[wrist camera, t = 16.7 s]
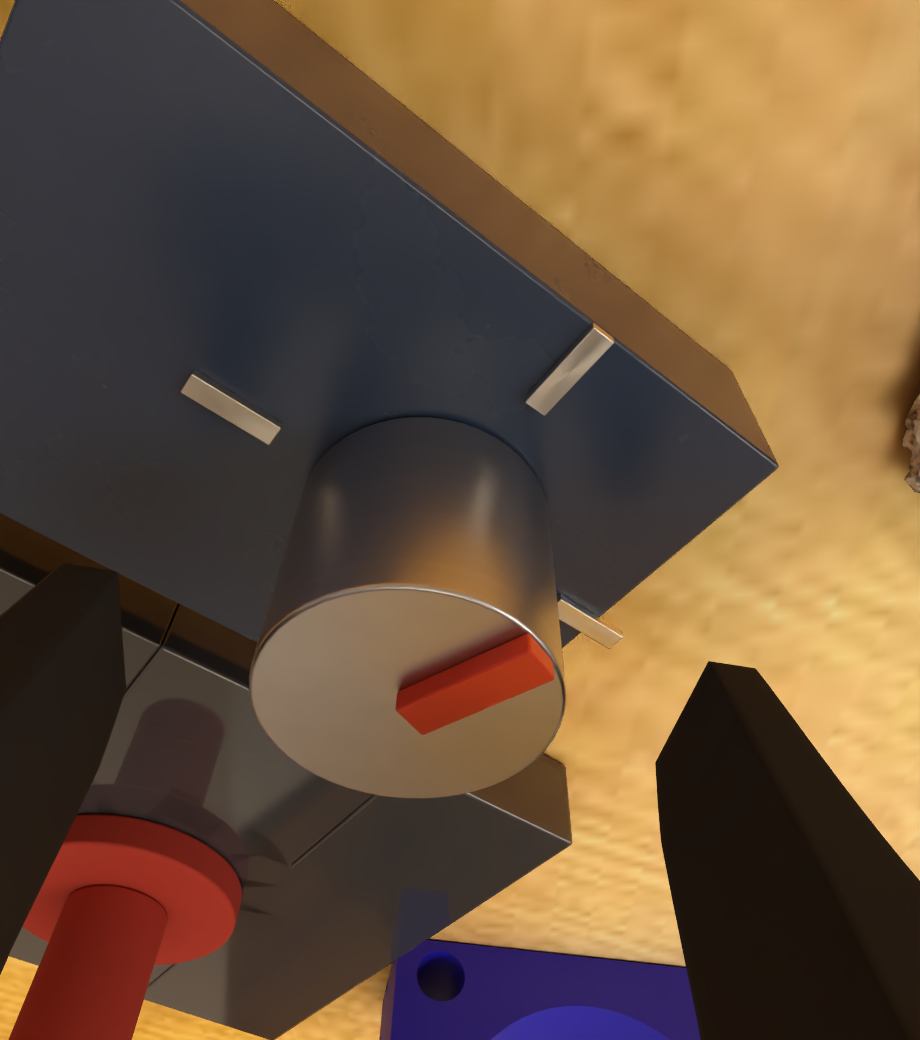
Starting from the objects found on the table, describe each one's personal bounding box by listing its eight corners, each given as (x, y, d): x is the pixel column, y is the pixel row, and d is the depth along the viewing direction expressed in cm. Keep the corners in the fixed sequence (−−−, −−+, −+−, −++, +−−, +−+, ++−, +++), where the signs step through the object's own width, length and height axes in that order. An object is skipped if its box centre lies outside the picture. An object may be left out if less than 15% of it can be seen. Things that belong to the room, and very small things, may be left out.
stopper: (10, 823, 23) (-131, 1106, 18) (92, 716, 20) (-48, 1014, 15) (199, 894, 25) (121, 1169, 20) (297, 806, 22) (238, 1097, 17)
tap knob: (398, 644, 15) (374, 851, 12) (248, 493, 13) (171, 691, 10) (594, 551, 13) (626, 757, 10) (457, 367, 11) (447, 551, 8)
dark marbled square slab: (-195, 798, 23) (-250, 873, 21) (-28, 454, 16) (-90, 525, 14) (286, 969, 28) (273, 1041, 27) (566, 765, 21) (573, 844, 20)
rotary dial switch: (-49, 348, 15) (-158, 445, 12) (145, -105, 11) (43, -99, 8) (473, 641, 19) (471, 759, 16) (752, 387, 15) (806, 491, 12)
